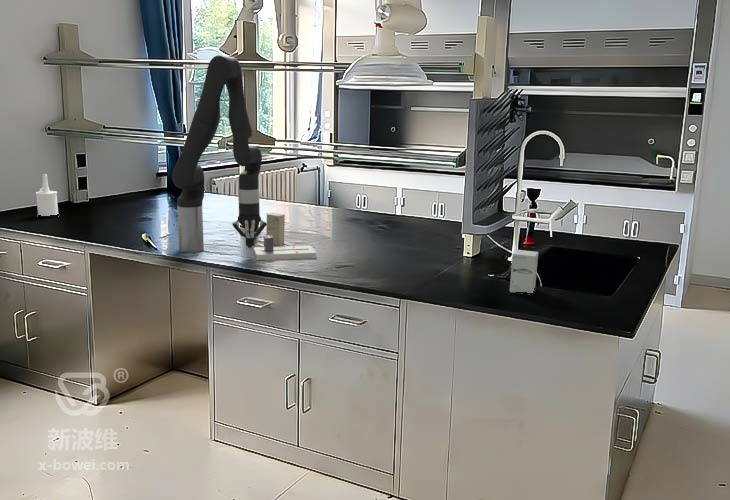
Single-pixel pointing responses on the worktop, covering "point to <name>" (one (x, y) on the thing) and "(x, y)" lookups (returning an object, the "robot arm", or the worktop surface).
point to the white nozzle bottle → (46, 199)
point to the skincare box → (276, 227)
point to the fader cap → (268, 243)
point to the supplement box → (523, 271)
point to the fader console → (285, 252)
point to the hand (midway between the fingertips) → (249, 247)
